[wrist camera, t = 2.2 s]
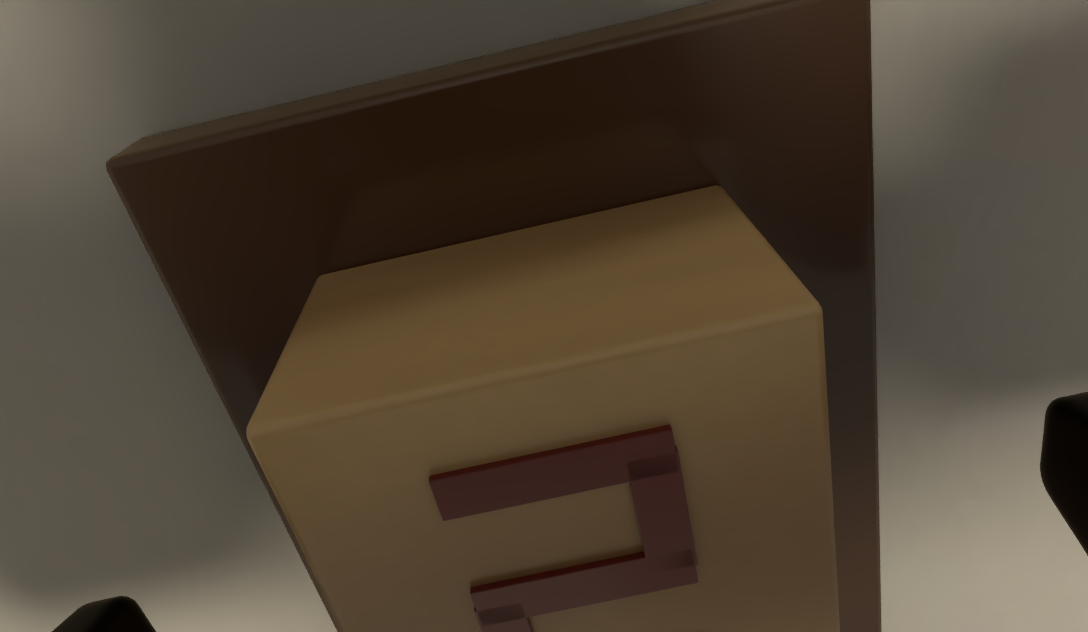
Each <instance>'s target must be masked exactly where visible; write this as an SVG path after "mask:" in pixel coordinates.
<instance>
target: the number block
mask: <svg viewBox="0 0 1088 632" xmlns="http://www.w3.org/2000/svg"><path fill="white" fill-rule="evenodd" d="M246 436H247V440H248V442H249V444H250V446H251V448H252V450H253V452H254V454H255V456H256V458H257V460H258V462H259V464H260V466H261V468H262V470H263V472H264V474H265V476H266V478H267V480H268V482H269V484H270V486H271V488H272V490H273V492H274V494H275V496H276V498H277V500H278V502H279V504H280V506H281V508H282V510H283V512H284V514H285V516H286V518H287V520H288V522H289V525H290V527H291V529H292V531H293V533H294V535H295V537H296V539H297V541H298V543H299V545H300V547H301V549H302V551H303V553H304V555H305V557H306V559H307V561H308V563H309V565H310V567H311V569H312V571H313V573H314V575H315V577H316V579H317V581H318V583H319V585H320V587H321V589H322V591H323V593H324V595H325V597H326V599H327V601H328V603H329V605H330V607H331V609H332V611H333V613H334V615H335V617H336V619H337V621H338V623H339V625H340V627H341V629H342V631H343V632H840V622H839V604H838V585H837V567H836V549H835V530H834V512H833V494H832V475H831V457H830V438H829V420H828V402H827V383H826V365H825V346H824V328H823V310H822V308H821V306H820V304H819V303H818V301H817V300H816V299H815V298H814V297H813V295H812V294H811V293H810V292H809V291H808V289H807V288H806V287H805V286H804V285H803V283H802V282H801V281H800V280H799V279H798V277H797V276H796V275H795V274H794V273H793V271H792V270H791V269H790V268H789V267H788V265H787V264H786V263H785V262H784V261H783V259H782V258H781V257H780V256H779V255H778V253H777V252H776V251H775V250H774V249H773V248H772V246H771V245H770V244H769V243H768V242H767V240H766V239H765V238H764V237H763V236H762V234H761V233H760V232H759V231H758V230H757V228H756V227H755V226H754V225H753V224H752V222H751V221H750V220H749V219H748V218H747V216H746V215H745V214H744V213H743V212H742V210H741V209H740V208H739V207H738V206H737V204H736V203H735V202H734V201H733V200H732V198H731V197H730V196H729V195H728V194H727V192H726V191H725V190H724V189H723V188H722V186H716V185H715V186H710V187H706V188H702V189H697V190H693V191H688V192H684V193H680V194H675V195H671V196H666V197H662V198H658V199H653V200H649V201H644V202H640V203H636V204H631V205H627V206H623V207H618V208H614V209H609V210H605V211H601V212H596V213H592V214H587V215H583V216H579V217H574V218H570V219H565V220H561V221H557V222H552V223H548V224H543V225H539V226H535V227H530V228H526V229H521V230H517V231H513V232H508V233H504V234H500V235H495V236H491V237H486V238H482V239H478V240H473V241H469V242H464V243H460V244H456V245H451V246H447V247H442V248H438V249H434V250H429V251H425V252H420V253H416V254H412V255H407V256H403V257H398V258H394V259H390V260H385V261H381V262H376V263H372V264H368V265H363V266H359V267H355V268H350V269H346V270H341V271H337V272H333V273H328V274H324V275H321V276H320V277H318V278H317V280H316V282H315V284H314V286H313V288H312V290H311V293H310V295H309V297H308V299H307V301H306V303H305V305H304V307H303V309H302V312H301V314H300V316H299V318H298V320H297V322H296V324H295V326H294V328H293V331H292V333H291V335H290V337H289V339H288V341H287V343H286V345H285V347H284V350H283V352H282V354H281V356H280V358H279V360H278V362H277V364H276V367H275V369H274V371H273V373H272V375H271V377H270V379H269V381H268V383H267V386H266V388H265V390H264V392H263V394H262V396H261V398H260V400H259V402H258V405H257V407H256V409H255V411H254V413H253V415H252V417H251V419H250V421H249V424H248V426H247V428H246Z"/></svg>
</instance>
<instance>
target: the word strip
mask: <svg viewBox="0 0 1088 632" xmlns="http://www.w3.org/2000/svg"><path fill="white" fill-rule="evenodd" d="M106 168H107V172H108V174H109V176H110V178H111V180H112V182H113V184H114V186H115V188H116V190H117V192H118V194H119V196H120V198H121V200H122V202H123V204H124V206H125V208H126V210H127V212H128V214H129V216H130V218H131V220H132V222H133V224H134V226H135V228H136V230H137V232H138V234H139V236H140V238H141V240H142V242H143V244H144V246H145V248H146V250H147V252H148V254H149V256H150V258H151V260H152V262H153V264H154V266H155V268H156V270H157V272H158V274H159V276H160V278H161V280H162V282H163V284H164V286H165V288H166V290H167V292H168V294H169V296H170V298H171V300H172V302H173V304H174V306H175V308H176V310H177V312H178V314H179V316H180V318H181V320H182V322H183V324H184V326H185V328H186V330H187V332H188V334H189V336H190V338H191V340H192V342H193V344H194V346H195V348H196V350H197V351H198V353H199V355H200V357H201V359H202V361H203V363H204V365H205V367H206V369H207V371H208V373H209V375H210V377H211V379H212V381H213V383H214V385H215V387H216V389H217V391H218V393H219V395H220V397H221V399H222V401H223V403H224V405H225V407H226V409H227V411H228V413H229V415H230V417H231V419H232V421H233V423H234V425H235V427H236V429H237V431H238V433H239V435H240V437H241V439H242V441H243V443H244V445H245V447H246V449H247V451H248V453H249V455H250V457H251V459H252V461H253V463H254V465H255V467H256V469H257V471H258V473H259V475H260V477H261V479H262V481H263V483H264V485H265V487H266V489H267V491H268V493H269V495H270V497H271V499H272V501H273V503H274V505H275V507H276V509H277V511H278V513H279V515H280V517H281V519H282V521H283V523H284V525H285V527H286V529H287V531H288V533H289V535H290V537H291V539H292V541H293V543H294V545H295V547H296V549H297V551H298V553H299V555H300V557H301V559H302V561H303V563H304V565H305V567H306V569H307V571H308V573H309V575H310V577H311V579H312V581H313V583H314V585H315V587H316V589H317V591H318V593H319V595H320V597H321V599H322V601H323V603H324V605H325V607H326V609H327V611H328V613H329V615H330V617H331V619H332V621H333V623H334V625H335V627H336V629H337V631H338V632H343V631H342V629H341V627H340V625H339V623H338V621H337V619H336V617H335V615H334V613H333V611H332V609H331V607H330V605H329V603H328V601H327V599H326V597H325V595H324V593H323V591H322V589H321V587H320V585H319V583H318V581H317V579H316V577H315V575H314V573H313V571H312V569H311V567H310V565H309V563H308V561H307V559H306V557H305V555H304V553H303V551H302V549H301V547H300V545H299V543H298V541H297V539H296V537H295V535H294V533H293V531H292V529H291V527H290V525H289V522H288V520H287V518H286V516H285V514H284V512H283V510H282V508H281V506H280V504H279V502H278V500H277V498H276V496H275V494H274V492H273V490H272V488H271V486H270V484H269V482H268V480H267V478H266V476H265V474H264V472H263V470H262V468H261V466H260V464H259V462H258V460H257V458H256V456H255V454H254V452H253V450H252V448H251V446H250V444H249V442H248V440H247V436H246V428H247V426H248V424H249V421H250V419H251V417H252V415H253V413H254V411H255V409H256V407H257V405H258V402H259V400H260V398H261V396H262V394H263V392H264V390H265V388H266V386H267V383H268V381H269V379H270V377H271V375H272V373H273V371H274V369H275V367H276V364H277V362H278V360H279V358H280V356H281V354H282V352H283V350H284V347H285V345H286V343H287V341H288V339H289V337H290V335H291V333H292V331H293V328H294V326H295V324H296V322H297V320H298V318H299V316H300V314H301V312H302V309H303V307H304V305H305V303H306V301H307V299H308V297H309V295H310V293H311V290H312V288H313V286H314V284H315V282H316V280H317V278H318V277H320V276H321V275H324V274H328V273H333V272H337V271H341V270H346V269H350V268H355V267H359V266H363V265H368V264H372V263H376V262H381V261H385V260H390V259H394V258H398V257H403V256H407V255H412V254H416V253H420V252H425V251H429V250H434V249H438V248H442V247H447V246H451V245H456V244H460V243H464V242H469V241H473V240H478V239H482V238H486V237H491V236H495V235H500V234H504V233H508V232H513V231H517V230H521V229H526V228H530V227H535V226H539V225H543V224H548V223H552V222H557V221H561V220H565V219H570V218H574V217H579V216H583V215H587V214H592V213H596V212H601V211H605V210H609V209H614V208H618V207H623V206H627V205H631V204H636V203H640V202H644V201H649V200H653V199H658V198H662V197H666V196H671V195H675V194H680V193H684V192H688V191H693V190H697V189H702V188H706V187H710V186H715V185H716V186H722V188H723V189H724V190H725V191H726V192H727V194H728V195H729V196H730V197H731V198H732V200H733V201H734V202H735V203H736V204H737V206H738V207H739V208H740V209H741V210H742V212H743V213H744V214H745V215H746V216H747V218H748V219H749V220H750V221H751V222H752V224H753V225H754V226H755V227H756V228H757V230H758V231H759V232H760V233H761V234H762V236H763V237H764V238H765V239H766V240H767V242H768V243H769V244H770V245H771V246H772V248H773V249H774V250H775V251H776V252H777V253H778V255H779V256H780V257H781V258H782V259H783V261H784V262H785V263H786V264H787V265H788V267H789V268H790V269H791V270H792V271H793V273H794V274H795V275H796V276H797V277H798V279H799V280H800V281H801V282H802V283H803V285H804V286H805V287H806V288H807V289H808V291H809V292H810V293H811V294H812V295H813V297H814V298H815V299H816V300H817V301H818V303H819V304H820V306H821V308H822V310H823V328H824V346H825V365H826V383H827V402H828V420H829V438H830V457H831V475H832V494H833V512H834V530H835V549H836V567H837V585H838V604H839V622H840V632H881V585H880V529H879V473H878V416H877V360H876V303H875V247H874V191H873V134H872V78H871V21H870V0H717V1H713V2H708V3H704V4H700V5H696V6H692V7H687V8H683V9H679V10H675V11H671V12H667V13H662V14H658V15H654V16H650V17H646V18H641V19H637V20H633V21H629V22H625V23H621V24H616V25H612V26H608V27H604V28H600V29H595V30H591V31H587V32H583V33H579V34H574V35H570V36H566V37H562V38H558V39H554V40H549V41H545V42H541V43H537V44H533V45H528V46H524V47H520V48H516V49H512V50H507V51H503V52H499V53H495V54H491V55H487V56H482V57H478V58H474V59H470V60H466V61H461V62H457V63H453V64H449V65H445V66H440V67H436V68H432V69H428V70H424V71H420V72H415V73H411V74H407V75H403V76H399V77H394V78H390V79H386V80H382V81H378V82H373V83H369V84H365V85H361V86H357V87H353V88H348V89H344V90H340V91H336V92H332V93H327V94H323V95H319V96H315V97H311V98H306V99H302V100H298V101H294V102H290V103H286V104H281V105H277V106H273V107H269V108H265V109H260V110H256V111H252V112H248V113H244V114H239V115H235V116H231V117H227V118H223V119H219V120H214V121H210V122H206V123H202V124H198V125H193V126H189V127H185V128H181V129H177V130H172V131H168V132H164V133H160V134H156V135H152V136H147V137H143V138H141V139H140V140H138V141H137V142H135V143H133V144H132V145H130V146H129V147H127V148H126V149H124V150H123V151H121V152H120V153H118V154H117V155H115V156H113V157H112V158H111V159H109V160H108V161H107V162H106Z"/></svg>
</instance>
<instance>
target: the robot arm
mask: <svg viewBox="0 0 1088 632" xmlns="http://www.w3.org/2000/svg"><path fill="white" fill-rule="evenodd" d="M1040 471H1041V477H1042V481H1043V484H1044V486H1045V488H1046V491H1047V492H1048V494H1049V496H1050V497H1051V499H1052V501H1053V502H1054V504H1055V505H1056V507H1057V508H1058V510H1059V511H1060V513H1061V515H1062V516H1063V518H1064V519H1065V521H1066V522H1067V524H1068V525H1069V527H1070V529H1071V530H1072V532H1073V533H1074V535H1075V536H1076V538H1077V539H1078V541H1079V543H1080V544H1081V546H1082V547H1083V549H1084V550H1085V552H1086V553H1087V555H1088V392H1084V393H1079V394H1075V395H1070V396H1065V397H1060V398H1057V399H1055V400H1053V401H1052V402H1051V403H1050V404H1049V406H1048V407H1047V410H1046V414H1045V423H1044V433H1043V442H1042V452H1041V461H1040ZM52 632H156V631H155V629H154V628H153V626H152V625H151V623H150V622H149V620H148V619H147V617H146V616H145V614H144V613H143V611H142V610H141V608H140V607H139V605H138V604H137V603H136V601H134V600H133V599H131V598H129V597H127V596H118V597H113V598H108V599H104V600H99V601H94V602H91V603H88V604H85V605H83V606H81V607H80V608H79V609H77V610H76V611H75V612H74V613H73V614H72V615H70V616H69V617H68V618H67V619H66V620H65V621H64V622H62V623H61V624H60V625H59V626H58V627H57V628H55V629H54V630H53V631H52Z"/></svg>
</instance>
